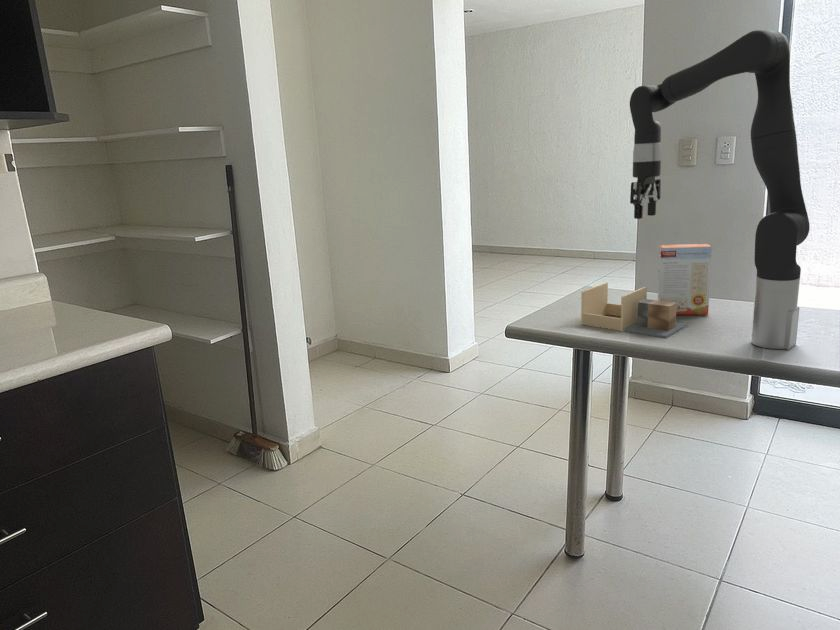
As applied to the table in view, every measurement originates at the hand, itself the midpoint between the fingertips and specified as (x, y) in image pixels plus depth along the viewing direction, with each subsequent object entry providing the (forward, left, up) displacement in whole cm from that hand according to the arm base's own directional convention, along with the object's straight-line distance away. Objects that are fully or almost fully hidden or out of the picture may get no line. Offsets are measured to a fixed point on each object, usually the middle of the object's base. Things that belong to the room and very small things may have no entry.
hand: (645, 217), depth 177 cm
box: (-9, +10, -30) cm, 32 cm away
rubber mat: (-9, +10, -30) cm, 33 cm away
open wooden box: (+4, +10, -30) cm, 32 cm away
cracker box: (-8, -10, -30) cm, 33 cm away
